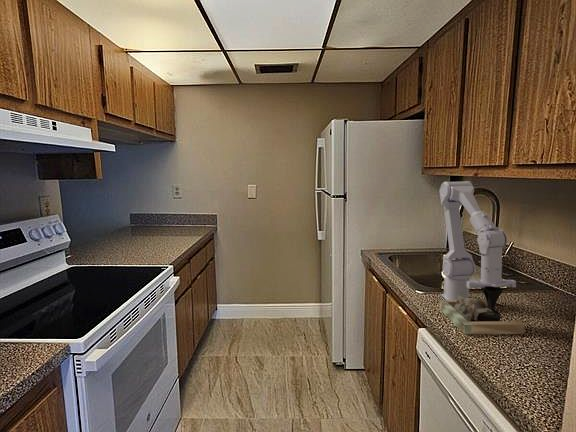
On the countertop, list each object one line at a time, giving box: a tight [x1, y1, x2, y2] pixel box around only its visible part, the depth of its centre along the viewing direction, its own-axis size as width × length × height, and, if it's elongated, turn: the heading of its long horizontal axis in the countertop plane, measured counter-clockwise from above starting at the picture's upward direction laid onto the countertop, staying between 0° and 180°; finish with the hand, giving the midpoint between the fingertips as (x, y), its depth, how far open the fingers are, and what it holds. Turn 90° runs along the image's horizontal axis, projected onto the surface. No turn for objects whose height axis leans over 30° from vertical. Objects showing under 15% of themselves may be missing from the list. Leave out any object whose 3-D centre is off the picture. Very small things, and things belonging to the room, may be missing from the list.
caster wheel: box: [454, 295, 502, 322], centre depth 116 cm, size 7×11×10 cm
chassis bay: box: [438, 299, 526, 335], centre depth 117 cm, size 20×18×3 cm
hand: (490, 309), depth 116 cm, fingers closed, pressing on caster wheel
